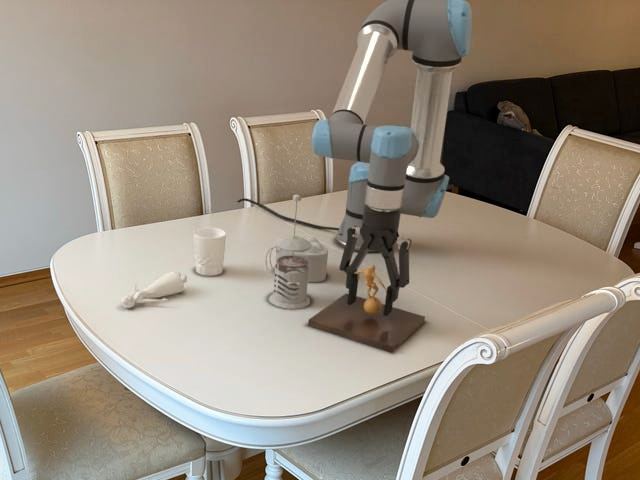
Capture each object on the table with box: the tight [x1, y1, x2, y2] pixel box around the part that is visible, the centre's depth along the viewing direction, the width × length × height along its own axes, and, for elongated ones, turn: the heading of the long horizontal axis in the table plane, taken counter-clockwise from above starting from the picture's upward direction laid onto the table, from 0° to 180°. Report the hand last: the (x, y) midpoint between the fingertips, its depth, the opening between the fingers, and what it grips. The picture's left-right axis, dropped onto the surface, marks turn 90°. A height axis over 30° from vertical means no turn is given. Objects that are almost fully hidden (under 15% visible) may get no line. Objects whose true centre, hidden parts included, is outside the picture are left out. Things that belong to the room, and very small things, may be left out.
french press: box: [265, 194, 312, 310], centre depth 158 cm, size 10×12×25 cm
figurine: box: [357, 264, 387, 315], centre depth 151 cm, size 8×6×12 cm
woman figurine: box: [120, 271, 188, 309], centre depth 159 cm, size 12×4×18 cm
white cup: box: [192, 227, 227, 277], centre depth 174 cm, size 8×8×10 cm
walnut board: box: [307, 293, 426, 353], centre depth 155 cm, size 20×18×2 cm
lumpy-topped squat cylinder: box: [274, 235, 329, 283], centre depth 177 cm, size 10×13×9 cm
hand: (369, 307), depth 154 cm, fingers closed on figurine, 8 cm apart
